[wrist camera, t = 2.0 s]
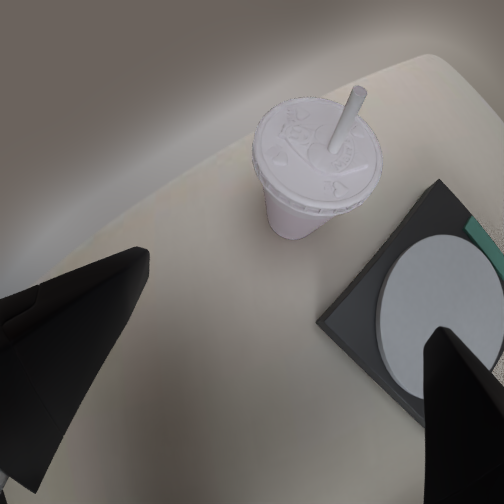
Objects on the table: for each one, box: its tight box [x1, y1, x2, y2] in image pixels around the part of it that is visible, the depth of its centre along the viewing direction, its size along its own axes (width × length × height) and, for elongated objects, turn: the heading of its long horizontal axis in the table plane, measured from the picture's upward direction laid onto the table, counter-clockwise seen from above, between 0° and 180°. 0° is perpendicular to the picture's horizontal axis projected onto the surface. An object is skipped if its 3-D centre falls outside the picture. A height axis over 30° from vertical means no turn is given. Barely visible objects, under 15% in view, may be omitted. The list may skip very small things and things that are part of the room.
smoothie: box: [252, 86, 383, 240], centre depth 17 cm, size 6×6×14 cm
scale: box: [316, 179, 504, 428], centre depth 21 cm, size 15×14×3 cm
